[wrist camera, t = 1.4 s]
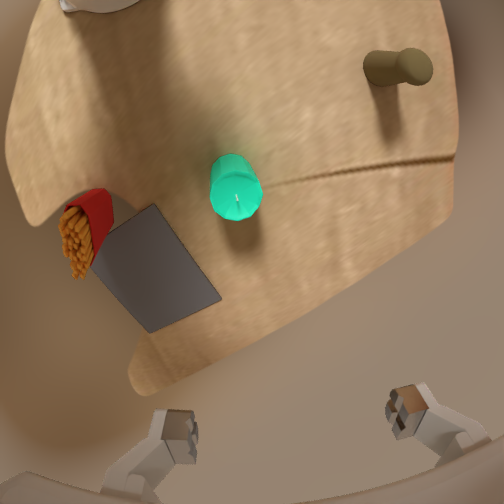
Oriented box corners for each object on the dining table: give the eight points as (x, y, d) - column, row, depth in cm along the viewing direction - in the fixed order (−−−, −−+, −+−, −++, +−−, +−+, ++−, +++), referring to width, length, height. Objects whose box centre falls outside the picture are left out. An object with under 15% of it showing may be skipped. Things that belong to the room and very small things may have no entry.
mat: (80, 252, 46) (79, 254, 46) (154, 203, 44) (153, 204, 44) (150, 332, 55) (149, 333, 55) (221, 297, 53) (221, 299, 53)
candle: (225, 201, 45) (229, 235, 35) (202, 168, 43) (198, 193, 32) (259, 179, 44) (275, 207, 34) (237, 145, 42) (246, 162, 31)
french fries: (85, 183, 41) (47, 215, 30) (111, 182, 41) (78, 214, 30) (93, 238, 45) (63, 283, 34) (116, 238, 46) (91, 284, 34)
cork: (386, 94, 40) (429, 98, 30) (356, 72, 38) (396, 69, 28) (401, 66, 37) (445, 65, 28) (373, 43, 36) (414, 34, 26)
